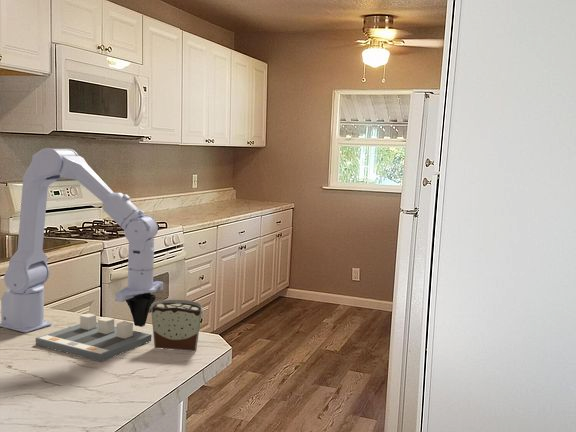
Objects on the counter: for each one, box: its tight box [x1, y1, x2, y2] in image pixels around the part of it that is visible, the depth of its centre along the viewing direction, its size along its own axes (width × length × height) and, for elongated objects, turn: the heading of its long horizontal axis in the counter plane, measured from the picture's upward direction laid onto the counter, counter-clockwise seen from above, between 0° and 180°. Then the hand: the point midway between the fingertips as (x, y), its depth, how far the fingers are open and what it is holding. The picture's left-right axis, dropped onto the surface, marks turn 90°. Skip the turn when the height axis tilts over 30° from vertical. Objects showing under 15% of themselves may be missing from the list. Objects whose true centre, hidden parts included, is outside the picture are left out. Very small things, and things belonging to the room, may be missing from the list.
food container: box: [148, 299, 205, 353], centre depth 134 cm, size 12×6×10 cm, turn 84°
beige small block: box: [79, 312, 97, 330], centre depth 138 cm, size 2×2×3 cm
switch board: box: [35, 321, 153, 363], centre depth 133 cm, size 19×16×2 cm
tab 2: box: [97, 316, 115, 334], centre depth 136 cm, size 2×2×3 cm
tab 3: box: [116, 320, 134, 339], centre depth 134 cm, size 2×2×3 cm
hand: (139, 325), depth 138 cm, fingers closed
